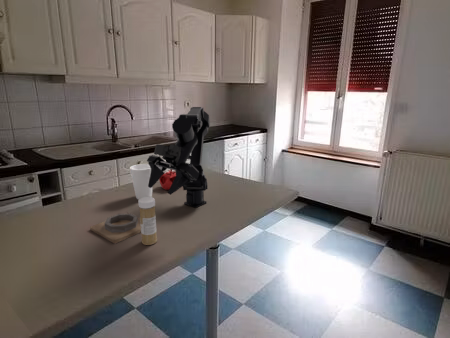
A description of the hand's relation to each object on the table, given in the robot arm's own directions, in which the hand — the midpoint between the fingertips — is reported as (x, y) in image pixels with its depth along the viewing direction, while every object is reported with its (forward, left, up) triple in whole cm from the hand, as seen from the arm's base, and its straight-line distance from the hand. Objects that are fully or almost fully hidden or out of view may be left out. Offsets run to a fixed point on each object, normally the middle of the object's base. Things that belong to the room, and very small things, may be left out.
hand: (158, 190), depth 88 cm
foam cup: (-15, -29, -14) cm, 36 cm away
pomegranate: (-30, -29, -14) cm, 44 cm away
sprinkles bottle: (+7, +3, -14) cm, 16 cm away
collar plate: (+7, -11, -14) cm, 19 cm away
